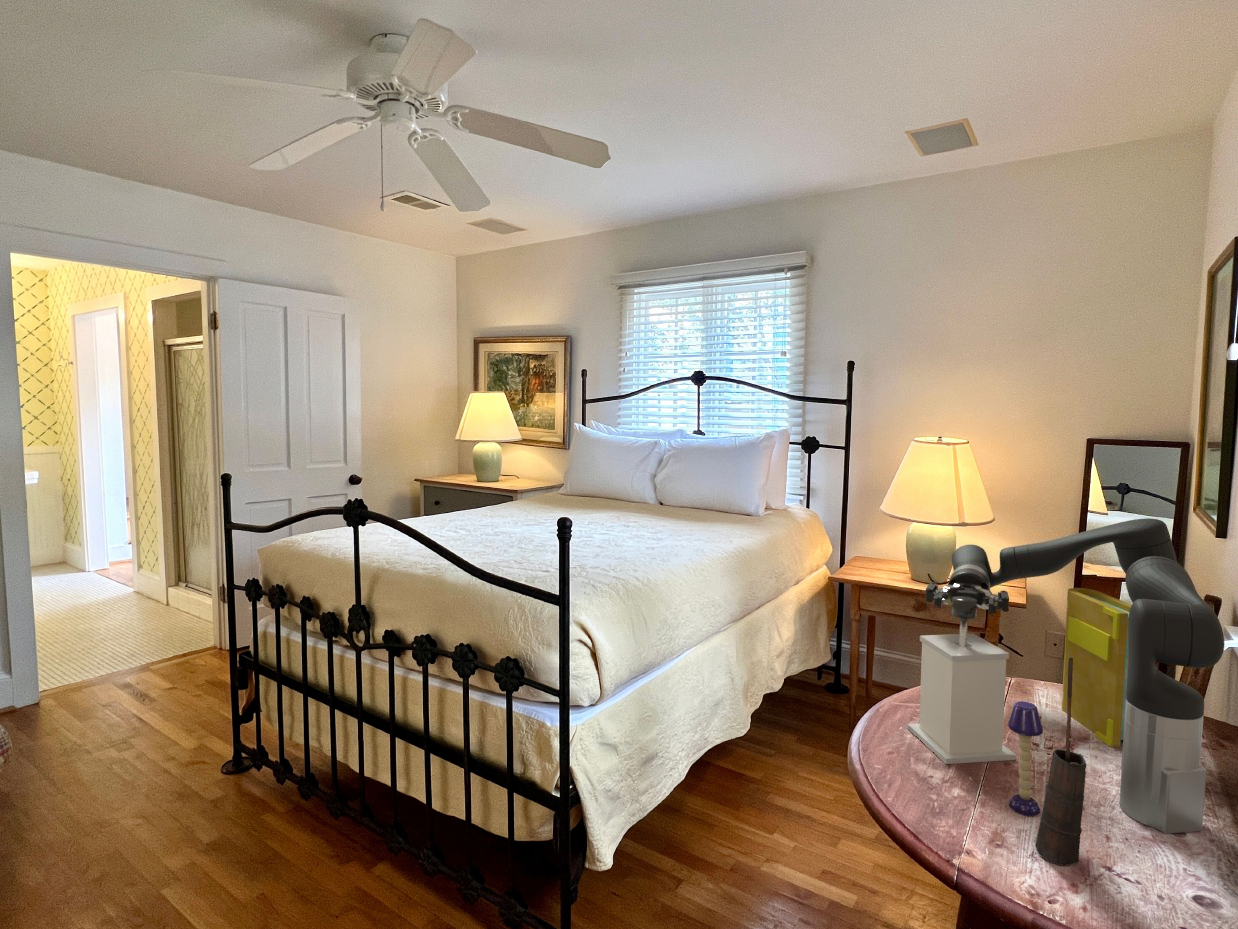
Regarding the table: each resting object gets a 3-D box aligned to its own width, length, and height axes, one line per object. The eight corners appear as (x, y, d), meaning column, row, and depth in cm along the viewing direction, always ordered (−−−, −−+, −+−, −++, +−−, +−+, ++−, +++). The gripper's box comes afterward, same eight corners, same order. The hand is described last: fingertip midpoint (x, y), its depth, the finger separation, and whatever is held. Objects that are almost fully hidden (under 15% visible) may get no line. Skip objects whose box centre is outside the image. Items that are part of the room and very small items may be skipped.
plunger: (993, 745, 124) (999, 605, 121) (951, 748, 123) (956, 606, 120) (966, 724, 131) (972, 592, 129) (927, 727, 131) (931, 594, 128)
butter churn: (1103, 893, 89) (1115, 683, 86) (1018, 865, 94) (1027, 667, 92) (1102, 854, 96) (1114, 660, 94) (1024, 830, 102) (1033, 646, 99)
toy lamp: (1005, 811, 106) (1009, 707, 105) (1004, 796, 110) (1008, 696, 109) (1041, 819, 104) (1046, 714, 103) (1039, 804, 108) (1044, 701, 107)
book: (1146, 746, 126) (1155, 613, 123) (1109, 746, 126) (1117, 613, 124) (1086, 705, 143) (1092, 588, 140) (1053, 705, 143) (1059, 588, 140)
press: (1015, 759, 121) (1020, 655, 120) (945, 764, 120) (949, 659, 118) (971, 725, 134) (974, 631, 133) (907, 729, 133) (910, 633, 131)
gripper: (931, 564, 144) (923, 582, 130) (1009, 571, 137) (1009, 591, 123) (930, 598, 145) (922, 620, 131) (1008, 608, 138) (1008, 632, 124)
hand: (964, 606), depth 127 cm, fingers open, 8 cm apart
